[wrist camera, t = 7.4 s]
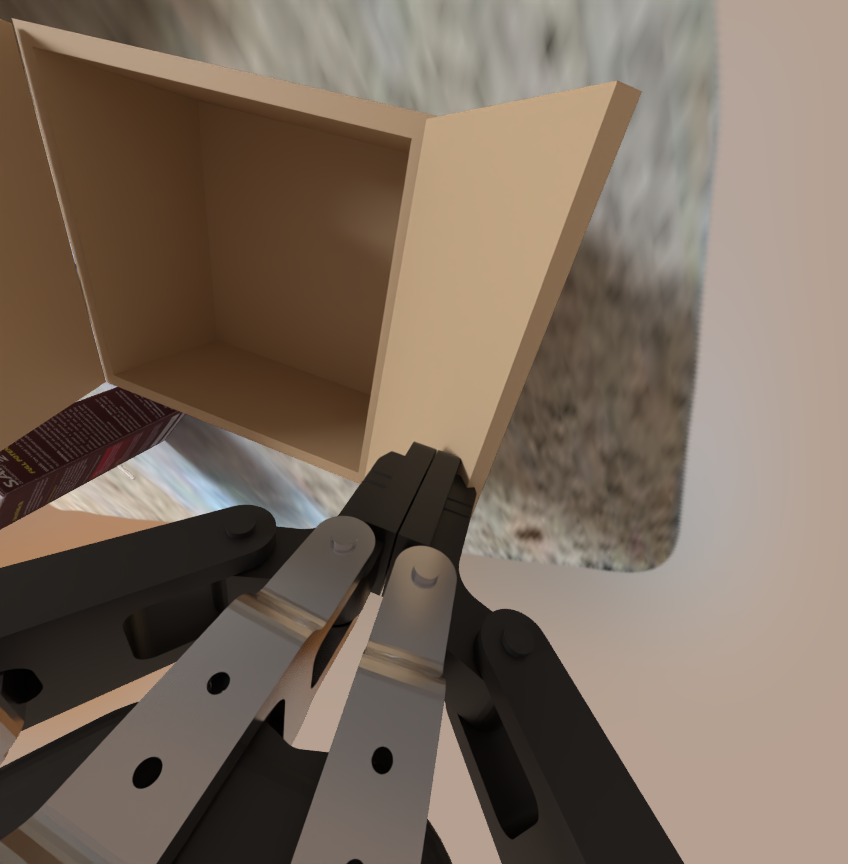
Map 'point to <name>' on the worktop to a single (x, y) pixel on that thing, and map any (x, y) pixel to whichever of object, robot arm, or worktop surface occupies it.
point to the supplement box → (78, 448)
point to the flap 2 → (489, 264)
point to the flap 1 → (35, 273)
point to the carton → (230, 236)
